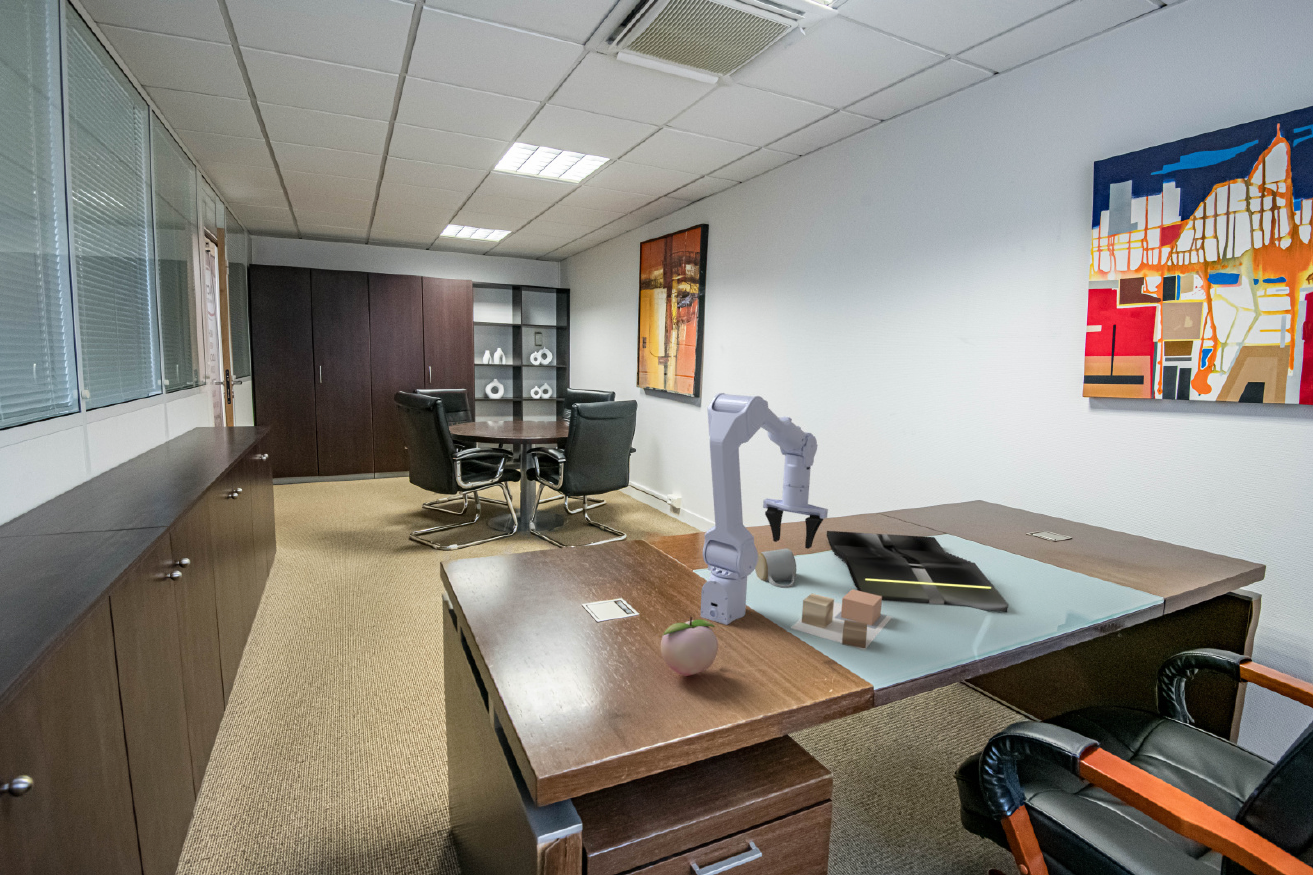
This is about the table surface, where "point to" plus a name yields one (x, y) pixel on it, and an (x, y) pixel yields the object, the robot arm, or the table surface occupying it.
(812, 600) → the maple block
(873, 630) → the mat
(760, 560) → the ceramic mug
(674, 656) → the decorative fruit
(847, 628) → the block
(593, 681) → the table surface
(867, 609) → the terracotta block
